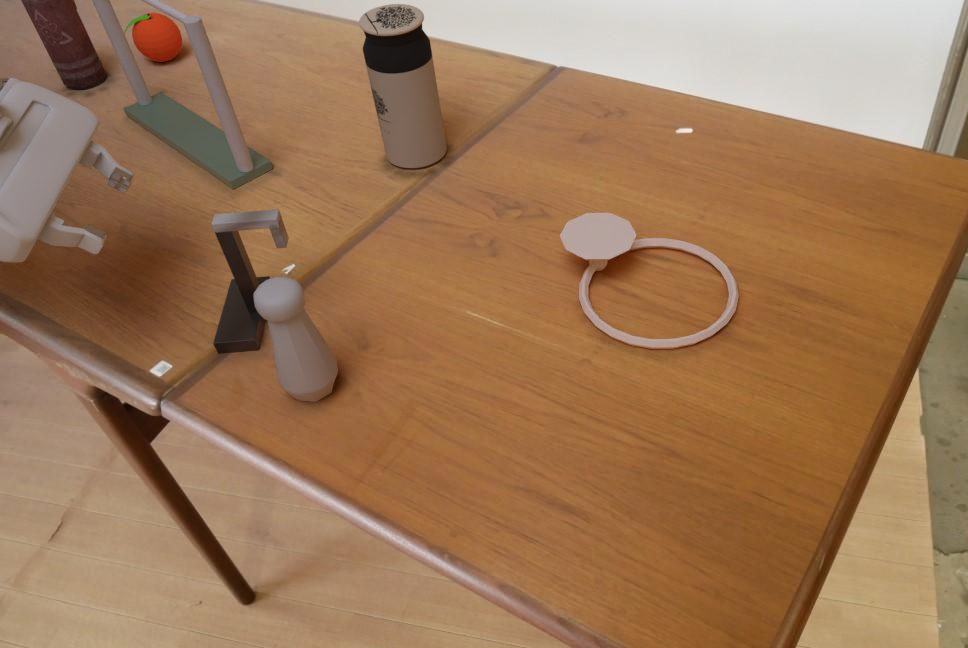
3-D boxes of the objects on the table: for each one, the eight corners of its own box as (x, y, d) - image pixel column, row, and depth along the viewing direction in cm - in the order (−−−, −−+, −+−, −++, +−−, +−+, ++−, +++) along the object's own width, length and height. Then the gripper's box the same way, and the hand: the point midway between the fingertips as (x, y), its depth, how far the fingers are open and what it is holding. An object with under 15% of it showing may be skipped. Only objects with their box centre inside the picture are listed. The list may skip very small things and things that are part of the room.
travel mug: (441, 132, 114) (419, -2, 100) (452, 163, 108) (431, 26, 95) (382, 143, 112) (353, 8, 99) (390, 175, 107) (360, 38, 94)
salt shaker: (315, 357, 86) (278, 257, 76) (355, 380, 83) (322, 280, 74) (271, 393, 82) (227, 294, 73) (312, 418, 80) (271, 319, 70)
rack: (233, 189, 106) (171, 31, 91) (126, 116, 120) (57, -33, 105) (273, 168, 109) (219, 11, 94) (164, 99, 123) (102, -49, 108)
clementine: (141, 76, 128) (121, 30, 122) (132, 58, 132) (112, 13, 126) (193, 61, 130) (176, 16, 125) (183, 44, 134) (166, -1, 129)
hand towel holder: (683, 346, 79) (517, 262, 88) (680, 377, 82) (520, 293, 91) (773, 251, 87) (613, 184, 96) (767, 283, 90) (613, 215, 100)
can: (113, 81, 127) (70, -13, 116) (69, 95, 124) (21, 0, 114) (103, 66, 130) (60, -27, 120) (60, 79, 128) (13, -15, 118)
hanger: (217, 353, 86) (169, 254, 77) (235, 289, 93) (193, 191, 84) (306, 346, 87) (269, 246, 77) (317, 282, 93) (285, 183, 84)
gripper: (-14, 94, 80) (132, 172, 88) (-113, 225, 66) (71, 305, 74) (8, 45, 77) (158, 131, 85) (-90, 172, 63) (99, 261, 71)
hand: (117, 213), depth 79 cm, fingers open, 8 cm apart
